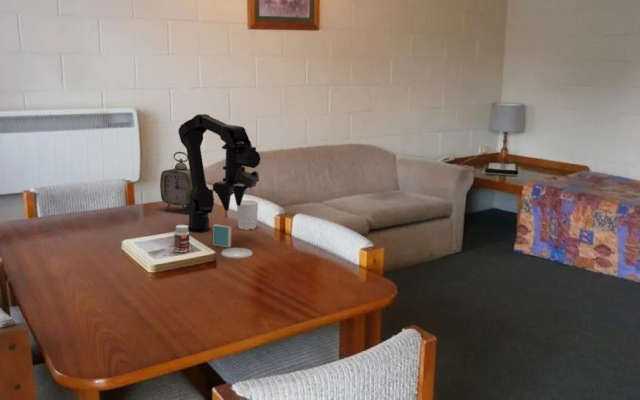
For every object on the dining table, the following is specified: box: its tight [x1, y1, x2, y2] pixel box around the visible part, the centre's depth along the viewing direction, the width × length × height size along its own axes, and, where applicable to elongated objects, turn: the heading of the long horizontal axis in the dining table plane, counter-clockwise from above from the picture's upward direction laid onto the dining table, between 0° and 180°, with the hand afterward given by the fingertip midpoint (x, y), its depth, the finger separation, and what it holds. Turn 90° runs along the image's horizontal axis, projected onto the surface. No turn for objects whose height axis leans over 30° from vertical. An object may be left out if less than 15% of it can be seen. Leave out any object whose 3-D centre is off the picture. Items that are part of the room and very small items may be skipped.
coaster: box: [221, 247, 253, 259], centre depth 197 cm, size 10×10×1 cm
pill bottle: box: [173, 224, 190, 251], centre depth 197 cm, size 5×5×8 cm
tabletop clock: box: [159, 151, 192, 212], centre depth 250 cm, size 14×9×25 cm, turn 68°
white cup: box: [236, 199, 259, 231], centre depth 230 cm, size 8×8×10 cm
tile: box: [212, 223, 232, 249], centre depth 205 cm, size 6×2×7 cm, turn 69°
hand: (232, 208), depth 209 cm, fingers open, 8 cm apart
